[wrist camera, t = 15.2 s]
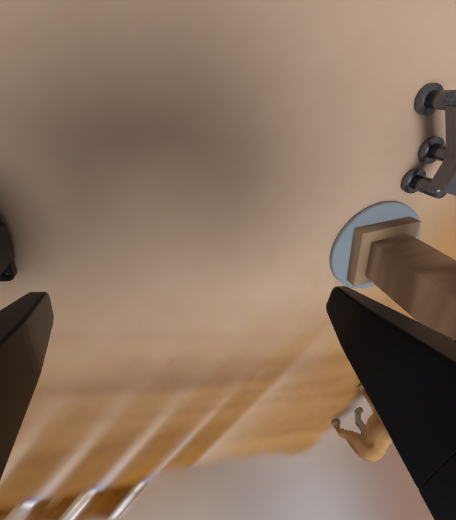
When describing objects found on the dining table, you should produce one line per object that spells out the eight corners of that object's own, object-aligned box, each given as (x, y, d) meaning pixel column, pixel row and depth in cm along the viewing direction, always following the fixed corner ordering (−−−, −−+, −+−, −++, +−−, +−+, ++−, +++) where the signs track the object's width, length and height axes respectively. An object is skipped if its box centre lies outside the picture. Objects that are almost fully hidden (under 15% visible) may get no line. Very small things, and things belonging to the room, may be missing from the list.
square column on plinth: (346, 279, 28) (457, 386, 18) (354, 227, 25) (492, 321, 15) (396, 267, 29) (529, 362, 19) (410, 216, 26) (577, 297, 16)
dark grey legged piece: (381, 190, 24) (415, 206, 21) (422, 81, 20) (471, 80, 17) (420, 192, 25) (458, 206, 22) (466, 88, 21) (520, 89, 18)
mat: (319, 287, 28) (321, 290, 28) (347, 200, 24) (351, 202, 23) (393, 283, 31) (397, 285, 30) (431, 202, 26) (436, 204, 26)
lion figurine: (362, 365, 37) (416, 434, 30) (394, 362, 39) (453, 427, 32) (325, 430, 44) (361, 499, 37) (353, 425, 46) (394, 491, 38)
